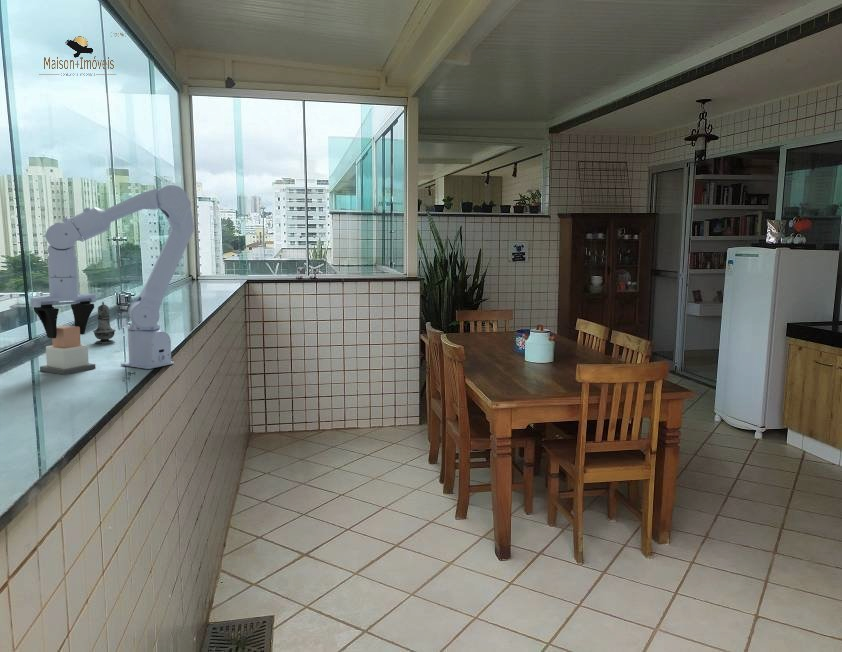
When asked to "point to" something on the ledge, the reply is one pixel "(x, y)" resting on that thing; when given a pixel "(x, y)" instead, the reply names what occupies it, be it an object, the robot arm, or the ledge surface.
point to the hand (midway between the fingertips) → (66, 335)
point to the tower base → (67, 360)
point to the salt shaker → (104, 326)
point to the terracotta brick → (67, 337)
